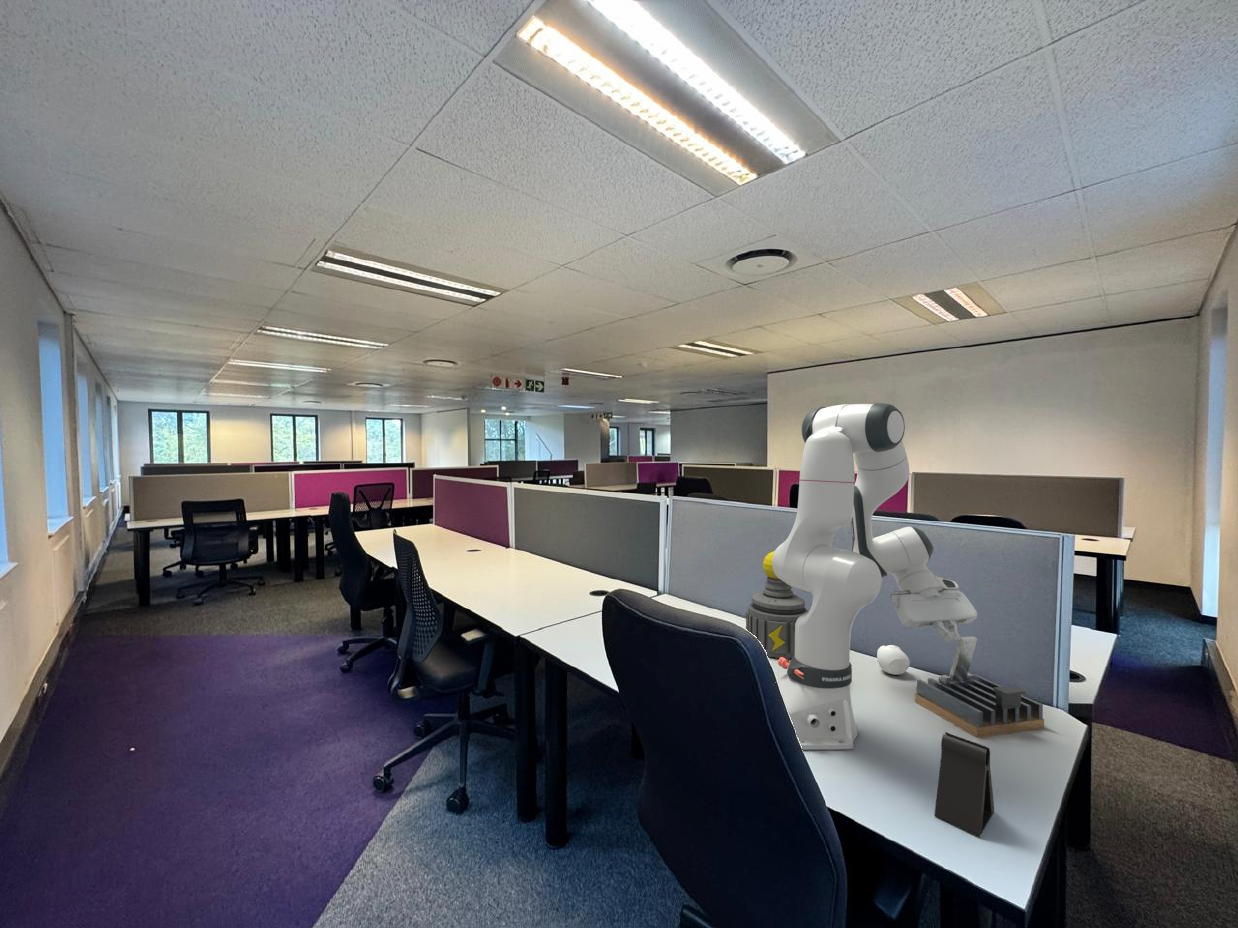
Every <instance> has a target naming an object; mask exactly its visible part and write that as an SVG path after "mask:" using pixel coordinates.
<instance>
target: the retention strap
mask: <svg viewBox="0 0 1238 928" xmlns="http://www.w3.org/2000/svg"><path fill="white" fill-rule="evenodd" d="M977 641H978V638H977V637H975V636H971V635H970V636H962V637H961V636H960V638H959V641H957V645H956V650H955V653H954V657H953V660H952V665H951V668H950V671H949V675H948V676H949V677H951V682H953V681H963V680H967V674H968V673H969V670H970V667H971V663H972V659H973V655H974V653H975V648H976V645H977Z"/></svg>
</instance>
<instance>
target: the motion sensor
mask: <svg viewBox="0 0 1238 928" xmlns="http://www.w3.org/2000/svg"><path fill="white" fill-rule="evenodd" d="M876 659H877V663H878V665H879V668H880V669H882V670H883V671H884V672H885V673H887V674H889V675H892V676H893V675H894V676H896V675H902V674H904V673H906V672H907V670H908V669H909V668H910V665H911V660H910V659H909V656H908V655H907V654H906V653H905V652H904V651H902V650H901V647H899V646H897V645H894V644H889V645H881V646H880V647H879V648H878V649H877V655H876Z"/></svg>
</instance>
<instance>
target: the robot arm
mask: <svg viewBox="0 0 1238 928" xmlns="http://www.w3.org/2000/svg"><path fill="white" fill-rule="evenodd" d="M905 427H906V425H905V418H904V416H903V414H902V412H901V411H900V410H899V408H897V407H896V406H895V405H894V404H890V403H883V402H876V403H855V404H852V403H843V404H838V405H837V404H836V405H832V406H821V407H817V408H815V409H811V410H810V411H808V412H807V414H806V415H805V416H804V418H803V420H802V423H801V436H802V439H803V442H804V446H803V447H804V448H803V452H802V456H801V462H800V467H799V468H800V470H799V484H798V485H799V486H798V497H797V498H798V499H797V500H798V501H797V511H796V515H795V521H794V523H793V526H792V528H791V531H790V533H789V534H788V537H787V538H786V539H785V540H784V541H783V542H782V543H781V544H780V545H778V546H777V548H776V549H775V550H774V551H775V552H774V554H773V558H772V567H773V571H774V573H775V575H776V576H777V577H778V578H779V579H780V580H782V581H783V582H785V583H786V584H788V585H789V586H791V587H792V588H794V589H796V590H799V591H803V592H804V593H808V594H811V595H812V601H811V602H812V603H811V607H810V609H809V610H808V612H807V613H805V614H803V615H801V616H800V617H799V618H798V619H797V621H796V623H795V654H794V655H793V657H792V659H790V661H789V659H785V658H784V657H780V658H779V659H777V664H778V666H779V667H781V668H782V669H783V670H786V673H785V674H784V675H783V676H781V677H780V679H778V680H777V681H776V682H778V685H779V688H780V690H781V694H782V697H783V700H784V703H785V705H786V707H787V710H788V713H789V715H790V717H791V720H792V722H793V725H794V728H795V730H796V735H797V737H798V738H799V741H800V744H801V746H802V749H803V750H815V751H816V750H852V749H853V748H854V740H855V739H856V737H857V736H858V734H859V733H858V729H857V725H856V721H855V717H854V711H853V706H852V705H853V703H852V696H851V684H852V682H853V679H852V678H853V673H852V672H853V669H852V662H850V660H851V659H850V655H851V654H850V652H851V636H852V635H851V634H852V629H853V624H854V622H855V619H856V617H857V615H858V613H859V612H860V611H861V610H863V608H864V607H865V606H867V605H870V604H871V603H872V602H874V601H875V599H876V598H877V597H878V595H879V593H880V592H881V589H882V585H883V584H882V583H883V580H882V579H883V578H884V577H886V576H888V575H892V577H893V578H894V579H895V582H896V585H897V587H898V589H899V590H900V591H899V590H893V591H892V593H891V594H890V596H889V598H890V600H891V603H892V604H893V606H894V610H895V612H896V615H897V616H898V618H899V622H900V623H901V625H903V626H904V627H905V628H907V629H915V628H928V627H932V628H933V630H934V631H935V632H936V633H937V634H939V635H941V636H942V637H943V638H944V640H945V642H946V643H954V642H955V643H958V642H959V638H960V637H961V635H960V634H959V632H958V625H964V624H965V625H966V624H971V623H972V622H974V621H975V620H977V619H978V611H977V609H976V608H975V607H974V605H973V604H972V603H971V601H970V600H969V598H968V597H967V596H966V595H965V594H964V593H963V592H962V591H960V590H959V589H960V587H959V584H958V583H957V582H956V581H954V580H951V579H947V578H943V577H940V576H937V575H934V573H933V572H932V571H931V570H930V569H929V568H928V567H927V565H926V564H927V563H929V561H930V560H931V557H932V555H933V554H934V553H933V552H934V546H933V544H932V541H931V540H930V539H929V537H928V536H927V535H926V533H925V532H924V531H923V530H921V529H919V528H917V527H915V526H905V527H901V528H899V529H895V530H893V531H891V532H888V533H885V534H882V535H879V536H875V537H874V536H873V526H872V519H873V518H872V517H873V515H874V513H875V512H876V511H877V509H878V508H879V507H880V506H882V505H883V504H884V503H885V502H886V501H887V500H888V499H890V498H892V497H893V496H894V495H896V494H897V493H899V491H900V490H902V488H903V487H904V486H905V485H906V484H907V482H908V480H909V477H910V463H909V459H908V455H907V451H906V449H905V446H904V443H903V438H904V436H905V429H906V428H905ZM855 465H856V469H857V470H856V471H857V472H856V473H857V475H856V480H855V474H856V473H855ZM849 523H850V526H851V527H850V528H851V536H852V550H850V549H844V548H840V547H839V548H838V547H835V546H833V542H834V539H835V536H836V534H837V533H838V531H839V530H840V529H841V528H843V527H845V526H847V525H848V524H849ZM944 626H945V627H944ZM803 750H802V751H803Z"/></svg>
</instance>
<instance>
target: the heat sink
mask: <svg viewBox="0 0 1238 928" xmlns="http://www.w3.org/2000/svg"><path fill="white" fill-rule="evenodd" d="M1025 694H1026V690H1023V689H1021V688H1018V687H1017V686H1014V685H1005V686H1003V685H1001V684H998V683H996V682H994V681H991V680H989V679H987V678H984V677H983V676H980V675H978V674H975V673H970V672H968V674H967V680H963V681H953V682H951V677H949V675H947V674H942V675H941V674H940V676H939V677H938V680H935V679H934V678H928V679H927V682H926V681H924V680H923V679H917V680H916V692H915V693H914V702H915V703H917V704H919V705H920V706H921V707H923V708H925V709H927V710H928V711H930V712H932V713H933V714H935V715H937V716H938V717H940V718H942V719H943V720H945V721H947V722H950V723H951V724H952V725H954V726H956V727H957V728H958V729H961V730H963V731H964V732H966V733H967V734H969V735H971V736H973V737H975V738H984V737H992V736H998V735H1005V734H1012V733H1020V732H1026V731H1028V732H1029V731H1033V730H1034V731H1035V730H1040V729H1045V718H1044V717H1043V716H1044V715H1043V714H1044V712H1043V711H1044V709H1043V708H1044V704H1043V703H1041V702H1038V701H1036V700H1034V699H1032V698H1029V697H1028V696H1025Z"/></svg>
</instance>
